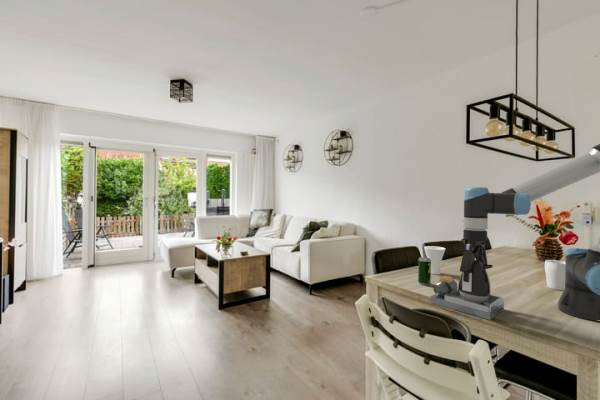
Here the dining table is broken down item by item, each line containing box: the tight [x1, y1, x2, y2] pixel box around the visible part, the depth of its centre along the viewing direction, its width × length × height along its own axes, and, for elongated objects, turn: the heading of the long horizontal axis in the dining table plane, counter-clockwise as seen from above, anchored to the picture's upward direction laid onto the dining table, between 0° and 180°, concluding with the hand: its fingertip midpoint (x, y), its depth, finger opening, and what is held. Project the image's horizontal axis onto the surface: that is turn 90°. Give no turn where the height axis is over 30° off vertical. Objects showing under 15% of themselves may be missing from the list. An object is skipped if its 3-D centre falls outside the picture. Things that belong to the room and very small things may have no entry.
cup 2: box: [544, 259, 566, 291], centre depth 131 cm, size 9×9×12 cm
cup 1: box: [423, 245, 446, 275], centre depth 154 cm, size 10×10×14 cm
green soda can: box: [417, 256, 432, 286], centre depth 135 cm, size 5×5×12 cm
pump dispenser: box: [457, 259, 494, 304], centre depth 106 cm, size 10×10×15 cm
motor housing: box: [429, 275, 505, 321], centre depth 108 cm, size 20×15×9 cm
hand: (473, 287), depth 106 cm, fingers open, 13 cm apart
